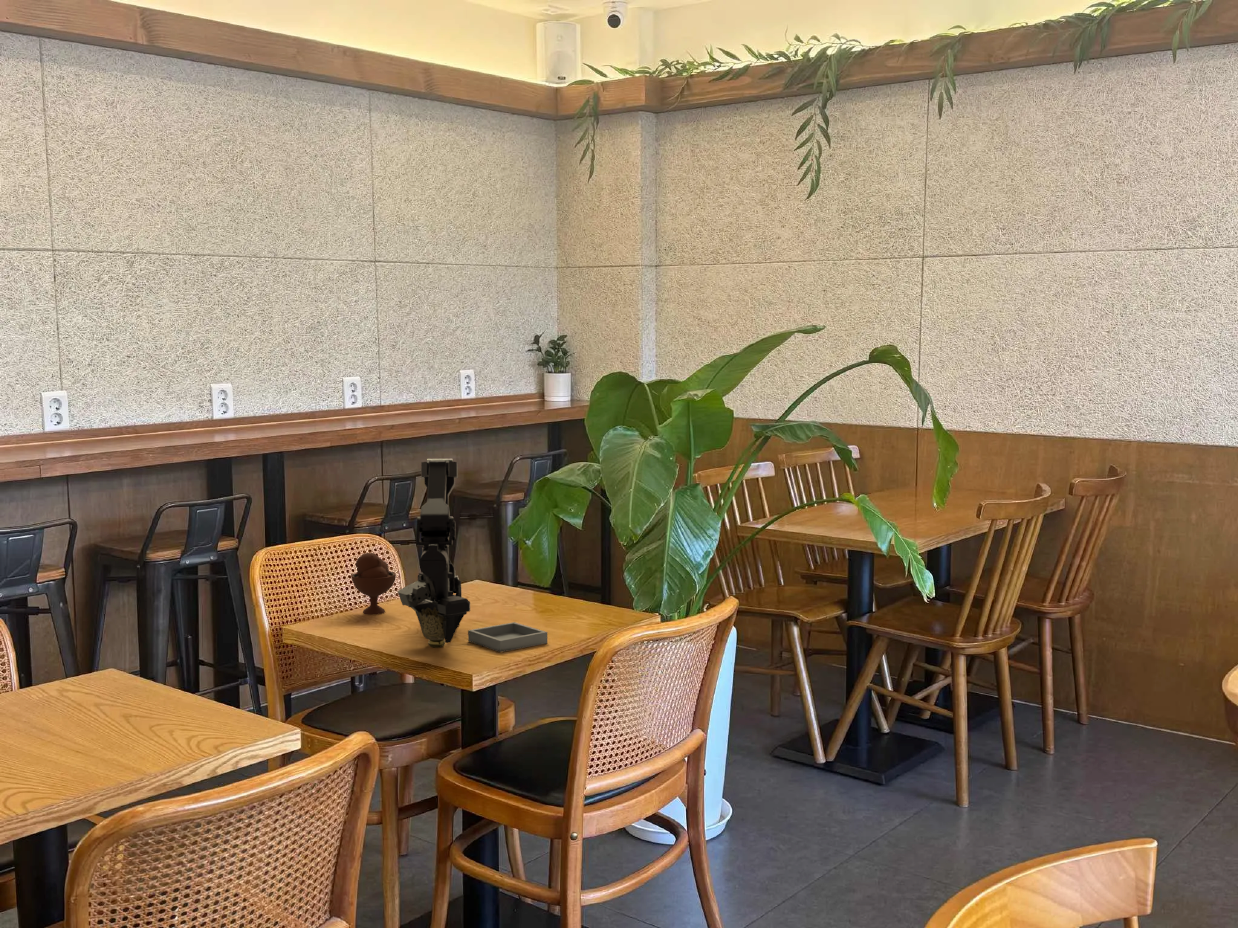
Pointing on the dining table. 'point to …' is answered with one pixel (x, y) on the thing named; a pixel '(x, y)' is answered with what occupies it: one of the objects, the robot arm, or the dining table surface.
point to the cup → (432, 627)
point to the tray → (507, 636)
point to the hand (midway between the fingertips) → (436, 638)
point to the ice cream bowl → (372, 580)
